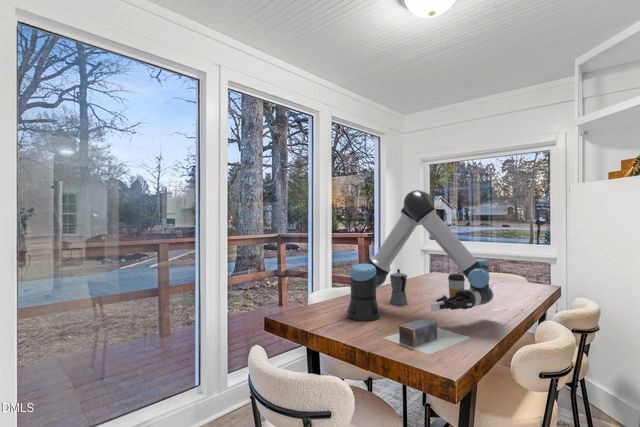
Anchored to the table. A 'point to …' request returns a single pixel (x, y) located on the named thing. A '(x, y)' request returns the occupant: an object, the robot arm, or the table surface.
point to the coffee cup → (455, 283)
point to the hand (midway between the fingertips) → (432, 307)
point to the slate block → (417, 332)
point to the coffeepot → (398, 288)
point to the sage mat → (434, 341)
